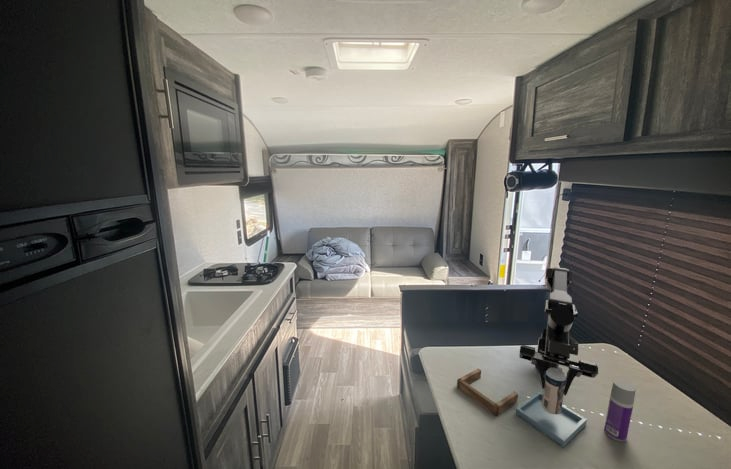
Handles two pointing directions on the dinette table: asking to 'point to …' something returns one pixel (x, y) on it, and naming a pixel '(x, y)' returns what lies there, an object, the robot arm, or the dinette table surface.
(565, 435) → the tray
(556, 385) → the beer can
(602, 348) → the dinette table surface
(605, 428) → the container
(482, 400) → the frame
